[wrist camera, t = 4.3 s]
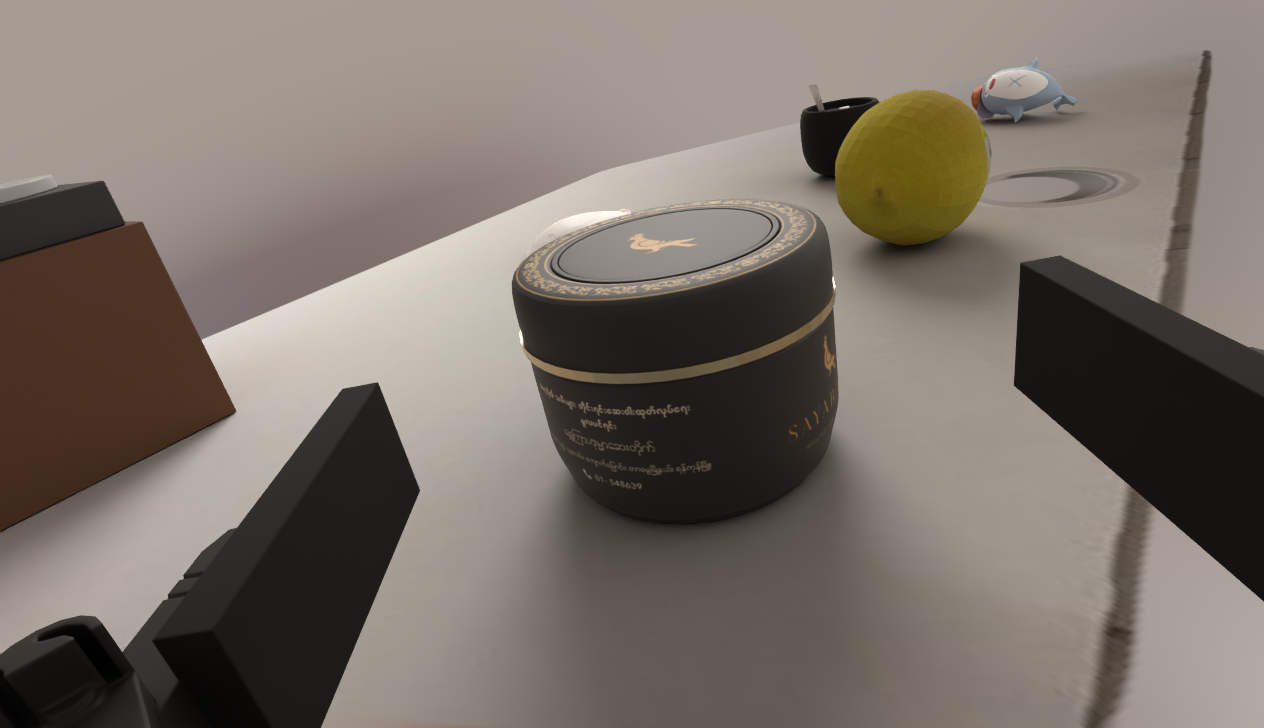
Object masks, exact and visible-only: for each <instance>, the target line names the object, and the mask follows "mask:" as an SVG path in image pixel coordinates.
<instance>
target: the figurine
mask: <svg viewBox="0 0 1264 728" xmlns="http://www.w3.org/2000/svg"><path fill="white" fill-rule="evenodd" d="M1037 68H1038V59H1037V58H1035V59H1034V61H1033V62H1031V63H1030V64H1029V65H1027V66H1025V67H1022V68H1010V69H1004V70H1001V71H999V72H997V73H996V74H994V75H993V76H991V77H990V78H989V79H988V81H987V82H986V83H985V85H982V86H979V87H977V88H975V90H974V91H973V93H972V97H971V100H972V105H973V107H974V108H975V110H976V111H977V113H978V116H979V117H980V118H981V119H982V120H990V119H992V118H993V115H994V114H1000V115H1007V114H1008V115H1011V116H1012V117H1013V118H1014V122H1015V123H1016V122H1017V121H1018V120H1019V119H1020V118H1021V117H1022V114H1023V112H1025V111H1028V110H1031V109H1034V108H1037V107H1040V106H1042V105H1045V104H1047V103H1050V102H1051V101H1053V100H1055V99H1056V98H1057V99H1056V100H1055V101H1054V103H1053V105H1054V107H1055V109H1056V110H1058V108H1059V106H1060V105H1062V104H1070V105H1072V106H1073V105H1075V104H1076V103H1077V100H1076V98H1074V97H1070V96H1067V95H1066V94H1064V92H1063V91H1062V89H1061V87H1060V86H1059V84H1058V82H1057V81H1056V80H1055V79H1053V78H1052V77H1051V76H1049V75H1048V74H1047V73H1044V72H1042V71H1040V70H1037ZM1060 96H1061V97H1060ZM1058 97H1059V98H1058Z"/></svg>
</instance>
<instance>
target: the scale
mask: <svg viewBox="0 0 1264 728" xmlns="http://www.w3.org/2000/svg"><path fill="white" fill-rule="evenodd" d="M234 412H236V409H235V407H234V405H233V403H232V401H231V399H230V397H229V395H228V393H227V391H226V389H225V387H224V385H223V383H222V381H221V379H220V377H219V375H218V373H217V371H216V369H215V367H214V365H213V363H212V361H211V359H210V357H209V355H208V353H207V351H206V349H205V347H204V345H203V343H202V341H201V339H200V337H199V335H198V333H197V331H196V329H195V327H194V325H193V323H192V321H191V319H190V317H189V315H188V313H187V311H186V309H185V307H184V305H183V303H182V301H181V298H180V296H179V294H178V292H177V290H176V288H175V286H174V284H173V282H172V280H171V278H170V276H169V274H168V272H167V270H166V268H165V266H164V264H163V262H162V260H161V258H160V256H159V254H158V252H157V250H156V248H155V246H154V244H153V242H152V240H151V238H150V236H149V234H148V232H147V230H146V228H145V226H144V224H143V222H125V221H124V220H123V218H122V216H121V214H120V212H119V210H118V208H117V206H116V204H115V202H114V200H113V198H112V196H111V194H110V192H109V190H108V188H107V186H106V185H105V182H104V181H96V182H86V183H76V184H66V185H57V183H56V182H55V180H54V178H53V176H52V175H42V176H37V177H31V178H26V179H21V180H16V181H11V182H6V183H1V184H0V531H1V530H3V529H5V528H7V527H9V526H11V525H13V524H15V523H17V522H19V521H21V520H23V519H25V518H27V517H29V516H31V515H33V514H35V513H37V512H39V511H41V510H43V509H45V508H47V507H49V506H51V505H53V504H55V503H57V502H59V501H61V500H63V499H65V498H66V497H68V496H70V495H72V494H74V493H76V492H78V491H80V490H82V489H84V488H86V487H88V486H90V485H92V484H94V483H96V482H98V481H100V480H102V479H104V478H106V477H108V476H110V475H112V474H114V473H116V472H118V471H120V470H122V469H124V468H126V467H128V466H130V465H132V464H134V463H135V462H137V461H139V460H141V459H143V458H145V457H147V456H149V455H151V454H153V453H155V452H157V451H159V450H161V449H163V448H165V447H167V446H169V445H171V444H173V443H175V442H177V441H179V440H181V439H183V438H185V437H187V436H189V435H191V434H193V433H195V432H197V431H199V430H201V429H203V428H204V427H206V426H208V425H210V424H212V423H214V422H216V421H218V420H220V419H222V418H224V417H226V416H228V415H230V414H232V413H234Z"/></svg>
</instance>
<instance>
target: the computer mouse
mask: <svg viewBox="0 0 1264 728" xmlns="http://www.w3.org/2000/svg"><path fill="white" fill-rule="evenodd" d="M627 214H631V211H629V210H628V209H621V210H619V211H617V212H613V211H598V212H589V213H583V214H578V215H574V216H571V217H568V218H565V219H562V220H560V221H558V222H556V223H554V224H552V225H551V226H549V227H548V228H546V229H545V230H544V231H543V232H542V233H541V234H540V235H539V236H538V237H537V238H536V240H535V241H534V243H533V244H532V246H531V248H530V249H529V251H528V253H527V255H526V258H527V257H528V256H529V255H531V254H532V253H533V252H535V251H536V250H538V249H539V248H541V247H543V246H544V245H546V244H548V243H550V242H552V241H554V240H556V239H558V238H560V237H562V236H564V235H566V234H569V233H571V232H574V231H576V230H579V229H581V228H584V227H587V226H590V225H592V224H595V223H599V222H602V221H605V220H608V219H612V218H615V217H619V216H623V215H627ZM526 258H525V259H526Z"/></svg>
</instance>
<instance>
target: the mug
mask: <svg viewBox="0 0 1264 728" xmlns="http://www.w3.org/2000/svg"><path fill="white" fill-rule="evenodd" d="M809 88H810V90H811V92H812V95H813V98H814V100H815V102H816V105H815V106H812V107H809V108H806V109H805V110H803V112H802V114H801V121H800V129H801V141H802V149H803V154H804V157H805V159H806V161H807V163H808V165H809V167H810V168H811V169H812V170H813V171H814V172H816V173H819V174H822V175H835V162H836V159H837V155H838V152H839V149H840V147H841V145H842V143H843V141H844V139H845V138H846V136H847V134H848V133H849V131H850V130H851V128H852V127H853V125H854V124H855V123H856V122H857V121H858V119H859V118H860V117H861V116H862V115H863V114H864V113H865V112H866V111H867V110H869V109H870V108H872V107H873V106H875V105H877V104H878V103H879V101H878V100H877V99H876V98H871V97H870V98H869V97H867V98H866V97H862V98H850V99H842V100H836V101H831V102H826V103H822V100H821V97H820V94H819V91H818V87H817V85H810V86H809Z"/></svg>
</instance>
